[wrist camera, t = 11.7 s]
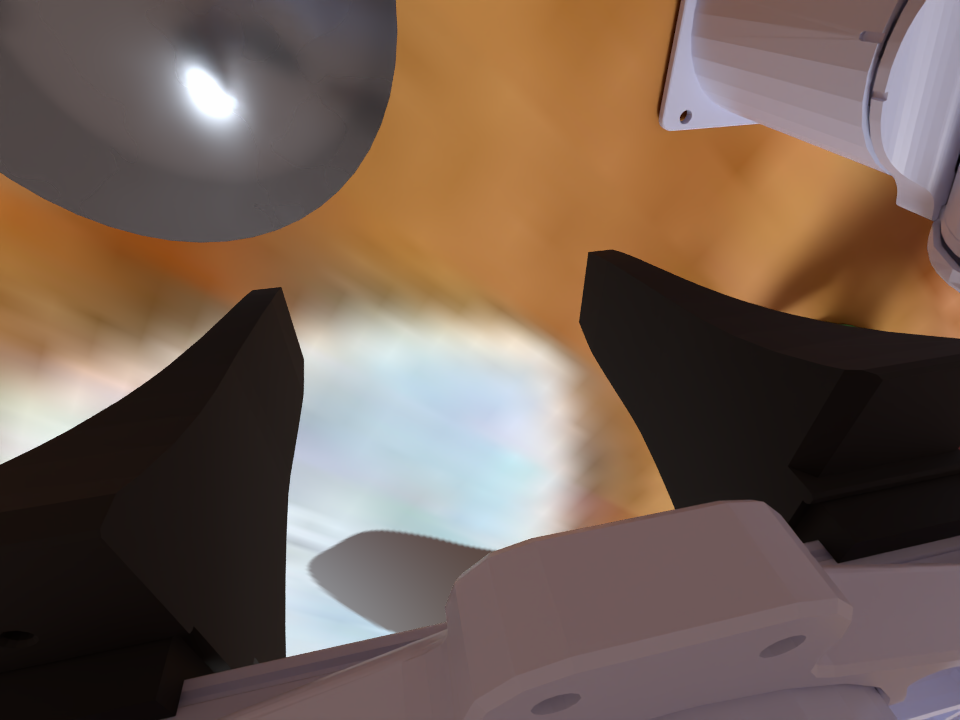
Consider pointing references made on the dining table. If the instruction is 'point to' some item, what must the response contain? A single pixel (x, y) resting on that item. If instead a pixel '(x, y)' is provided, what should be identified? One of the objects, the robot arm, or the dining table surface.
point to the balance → (192, 108)
